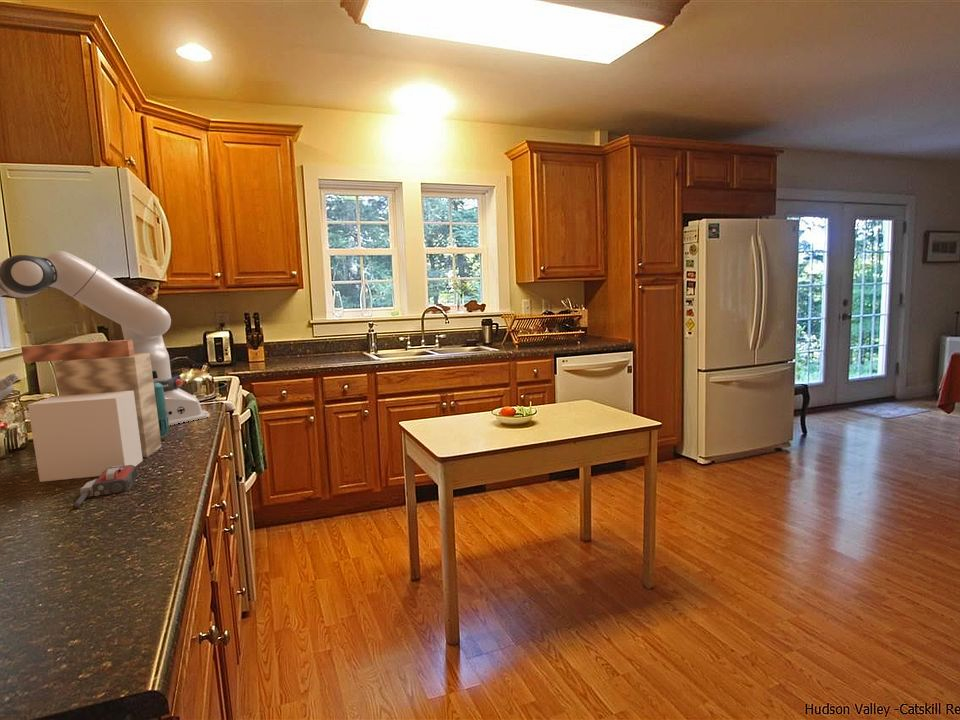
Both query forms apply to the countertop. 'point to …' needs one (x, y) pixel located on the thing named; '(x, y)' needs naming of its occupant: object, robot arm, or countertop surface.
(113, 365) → the stand
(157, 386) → the beverage bottle
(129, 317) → the robot arm
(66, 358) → the stick
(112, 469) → the walkie-talkie
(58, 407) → the plain white box
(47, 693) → the countertop surface
